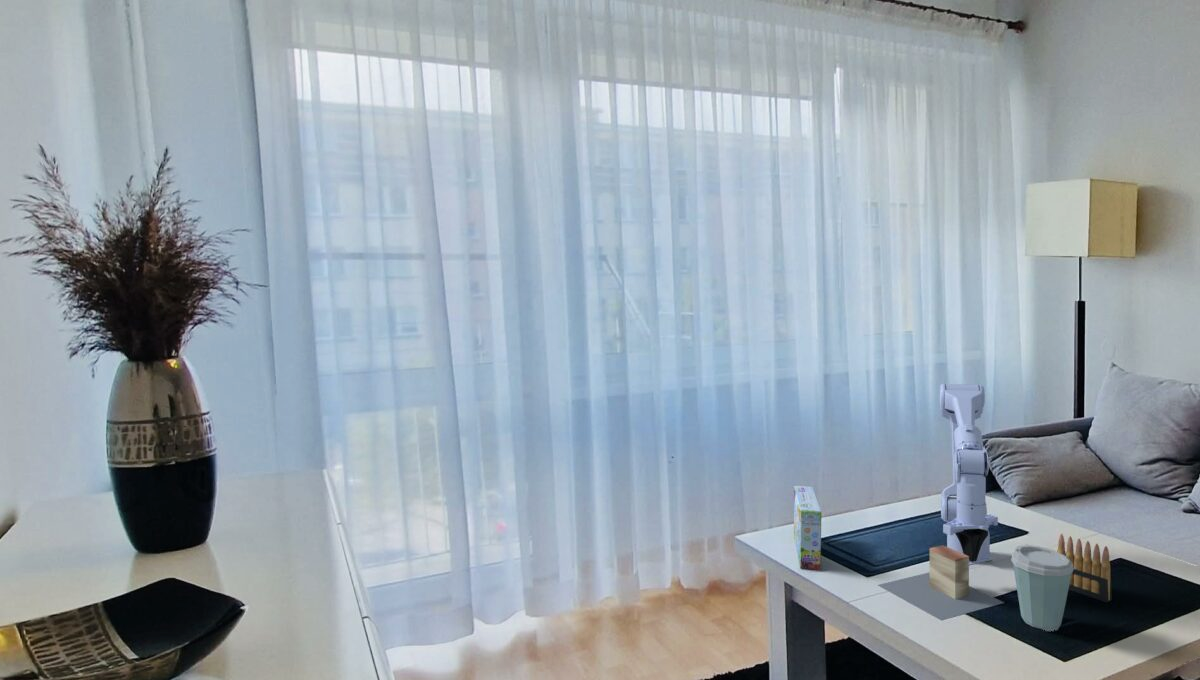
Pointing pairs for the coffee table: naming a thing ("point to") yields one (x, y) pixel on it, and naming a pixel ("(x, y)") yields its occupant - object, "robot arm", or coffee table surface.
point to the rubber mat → (938, 597)
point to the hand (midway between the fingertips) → (970, 559)
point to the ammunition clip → (1088, 570)
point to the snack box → (807, 527)
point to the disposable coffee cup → (1041, 585)
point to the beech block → (949, 571)
